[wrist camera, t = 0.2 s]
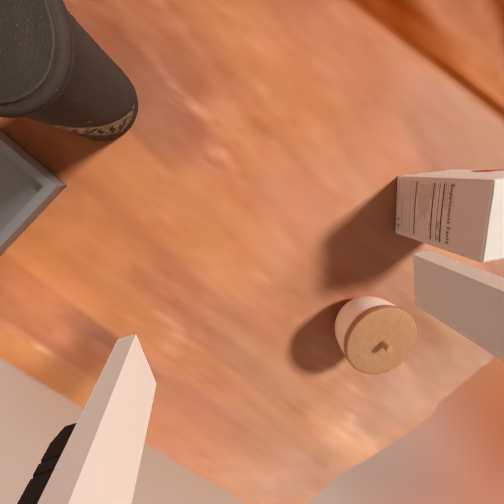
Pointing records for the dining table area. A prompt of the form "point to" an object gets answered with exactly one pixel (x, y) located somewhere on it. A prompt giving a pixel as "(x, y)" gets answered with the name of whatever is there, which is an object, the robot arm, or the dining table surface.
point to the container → (60, 73)
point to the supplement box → (454, 211)
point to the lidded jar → (374, 334)
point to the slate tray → (22, 190)
